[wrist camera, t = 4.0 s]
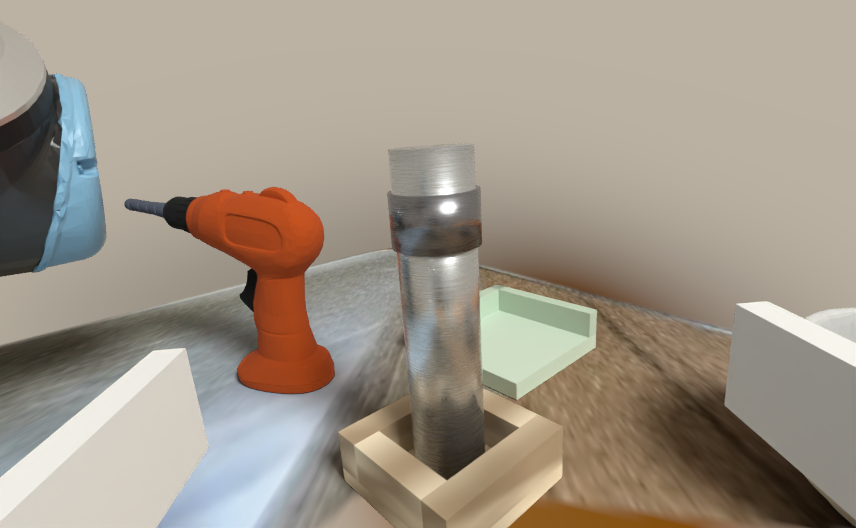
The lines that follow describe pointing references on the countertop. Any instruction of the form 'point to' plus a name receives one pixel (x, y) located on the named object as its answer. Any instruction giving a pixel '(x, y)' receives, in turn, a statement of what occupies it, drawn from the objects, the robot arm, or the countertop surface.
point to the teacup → (852, 327)
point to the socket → (468, 489)
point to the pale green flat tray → (530, 338)
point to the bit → (440, 299)
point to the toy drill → (263, 276)
